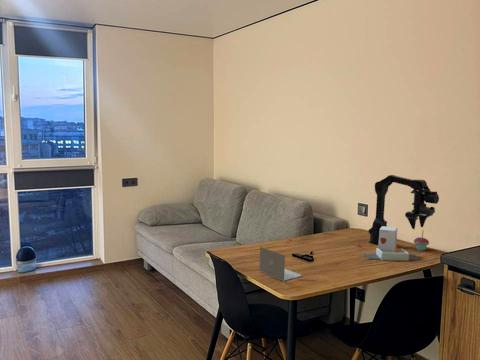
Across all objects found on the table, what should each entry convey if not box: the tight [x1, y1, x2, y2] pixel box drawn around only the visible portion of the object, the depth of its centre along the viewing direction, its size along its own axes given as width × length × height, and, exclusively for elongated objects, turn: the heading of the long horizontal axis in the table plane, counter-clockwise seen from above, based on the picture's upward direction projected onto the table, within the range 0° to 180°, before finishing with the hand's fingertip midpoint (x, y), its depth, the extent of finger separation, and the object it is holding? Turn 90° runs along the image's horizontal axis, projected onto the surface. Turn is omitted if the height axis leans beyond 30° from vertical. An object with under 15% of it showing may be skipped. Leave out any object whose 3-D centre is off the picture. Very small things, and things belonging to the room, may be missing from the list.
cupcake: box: [413, 230, 430, 251], centre depth 263 cm, size 9×8×12 cm
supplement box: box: [377, 226, 398, 253], centre depth 253 cm, size 9×9×15 cm
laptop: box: [258, 246, 303, 282], centre depth 215 cm, size 18×12×13 cm
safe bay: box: [363, 247, 422, 262], centre depth 245 cm, size 10×29×4 cm, turn 89°
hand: (417, 228), depth 253 cm, fingers open, 9 cm apart
